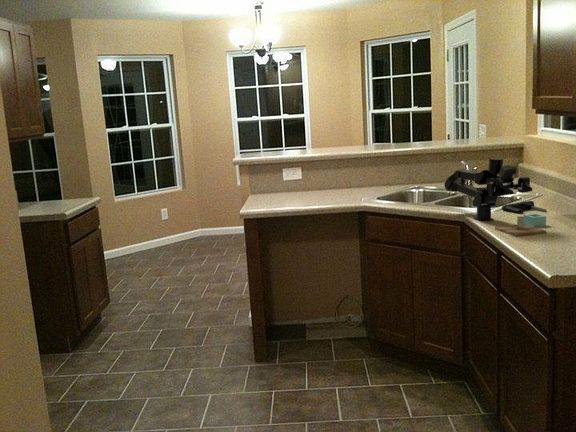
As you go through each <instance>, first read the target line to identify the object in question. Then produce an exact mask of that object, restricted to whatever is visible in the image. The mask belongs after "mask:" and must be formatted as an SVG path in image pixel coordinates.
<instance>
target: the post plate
mask: <svg viewBox="0 0 576 432" xmlns="http://www.w3.org/2000/svg"><path fill="white" fill-rule="evenodd" d="M516 219H517V220H516V224H513V225H512V224H511V225H502V226H495V227H494V230H495V231H499V232H500V233H501V232H502V233H505V234H508V235H509V236H512V237H523V236H533V235H534V236H535V235H541V234H542V235H543V234H547V230H544V229H541V228H538V227H532V226H529V225H525V224H523V223H524V217H523V216H520V215H519V216H517V218H516Z"/></svg>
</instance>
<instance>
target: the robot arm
mask: <svg viewBox="0 0 576 432" xmlns="http://www.w3.org/2000/svg"><path fill="white" fill-rule="evenodd" d="M517 170H518V169H517V167H516V166H515V165H514V166H513V165H510V164H508V165H507V164H506V165H504V158H503V157H493V156H492V157H489V158H488V169H482V170H481V171H479V172H478V171H472V170H468V169H464V168H463V169H457V170H455V171H454V172H453V174H451V175H450V176H448V177H447V179H446V180H445V182H444V185H443V187H444V188H445V190H446V191H447V192H459V193H460V194H463V195H467V196H469V197H471V198H473V199H472V201H471V204H472V207H475V208H476V217H475V216H474V217H473V219H474V220H477V221H479V222H485V221H494V218H492V207H495V206H496V204H497V199H498V197H503V196H510V195H513V194H514V190H515V191H516V190H517V191H518V193H522V194H525V193H528V192H529V193H530V192H533V187H531V185H530V184H531V183H530V182H531V178H530V177H528V176H522V177H519V178H518V179H517V183H514V181H515V178H514V177H513V176H514V175H516V174H517ZM467 180H468V181H472V182H473V183H475V184H476V185H478V186H481V187H474V186H472V185H469V184H467V183H466V181H467ZM484 185H485V186H484ZM482 186H483V187H482Z"/></svg>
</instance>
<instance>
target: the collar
mask: <svg viewBox="0 0 576 432" xmlns="http://www.w3.org/2000/svg"><path fill="white" fill-rule="evenodd" d="M522 215H523V216H522V217H524V223H523V224H525V225H529V226H532V227H535V228H537V227H541V226H542V227H544V226H546V225H547V216H546V215H542V214H539V213H529V214H522Z"/></svg>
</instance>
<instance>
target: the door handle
mask: <svg viewBox="0 0 576 432" xmlns="http://www.w3.org/2000/svg"><path fill="white" fill-rule="evenodd" d="M501 210H502V211H504V212H509V213H513V214H517V215H518V214H522V215H523V213H525V211H530V210H531V211H537V212H541V213H546V212H547V210H548V208H547V209H546V208H544V207H539V206H536V205H535V202H534V201H533V200H527V201H519V202H514V203H509V204H508V203H507V204H503V205H502V206H501Z"/></svg>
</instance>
